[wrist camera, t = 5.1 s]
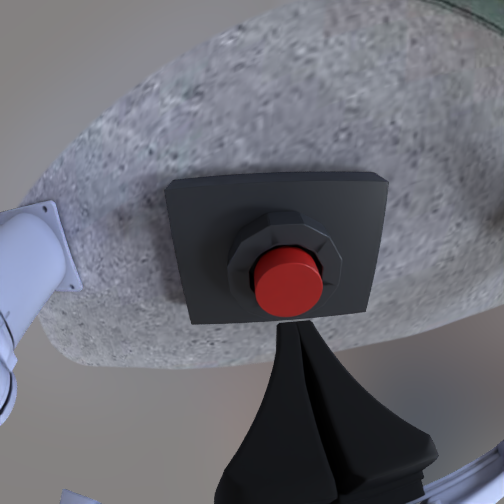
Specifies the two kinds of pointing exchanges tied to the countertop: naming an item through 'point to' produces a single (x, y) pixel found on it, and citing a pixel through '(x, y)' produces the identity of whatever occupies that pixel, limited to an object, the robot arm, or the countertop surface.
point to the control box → (275, 238)
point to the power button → (287, 282)
